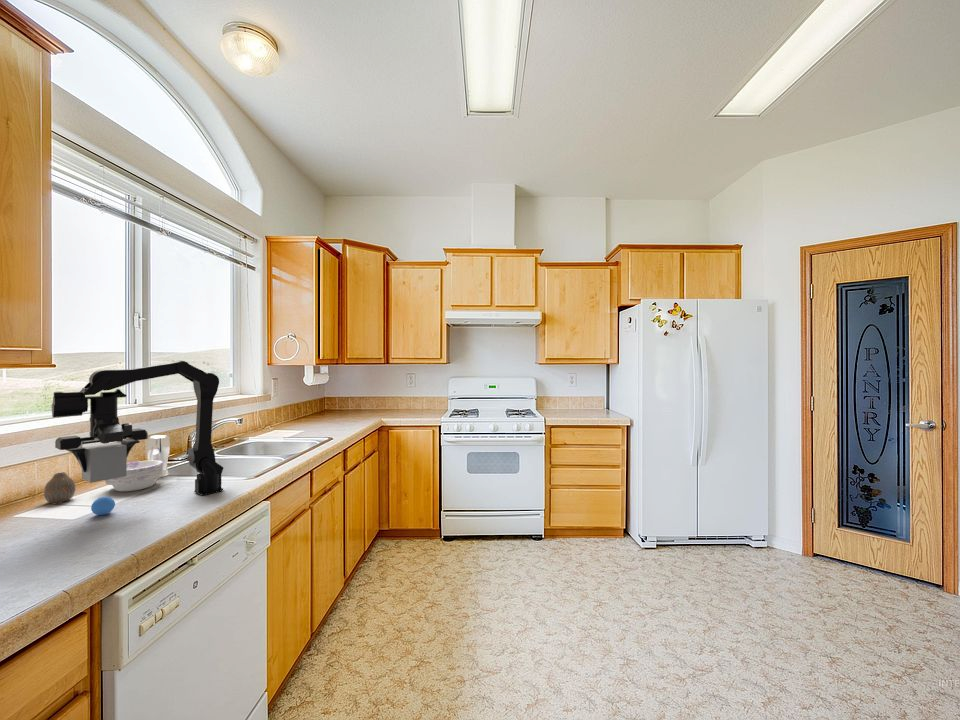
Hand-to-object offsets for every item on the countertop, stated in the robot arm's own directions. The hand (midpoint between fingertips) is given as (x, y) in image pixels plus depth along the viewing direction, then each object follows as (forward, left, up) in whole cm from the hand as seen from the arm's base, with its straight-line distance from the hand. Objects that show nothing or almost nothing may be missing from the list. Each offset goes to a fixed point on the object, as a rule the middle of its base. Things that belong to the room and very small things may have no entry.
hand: (103, 468), depth 117 cm
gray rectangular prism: (0, 0, -2) cm, 2 cm away
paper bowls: (-14, -23, -13) cm, 30 cm away
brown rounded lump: (+4, -25, -13) cm, 29 cm away
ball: (0, 0, -10) cm, 11 cm away
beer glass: (-24, -33, -13) cm, 43 cm away
